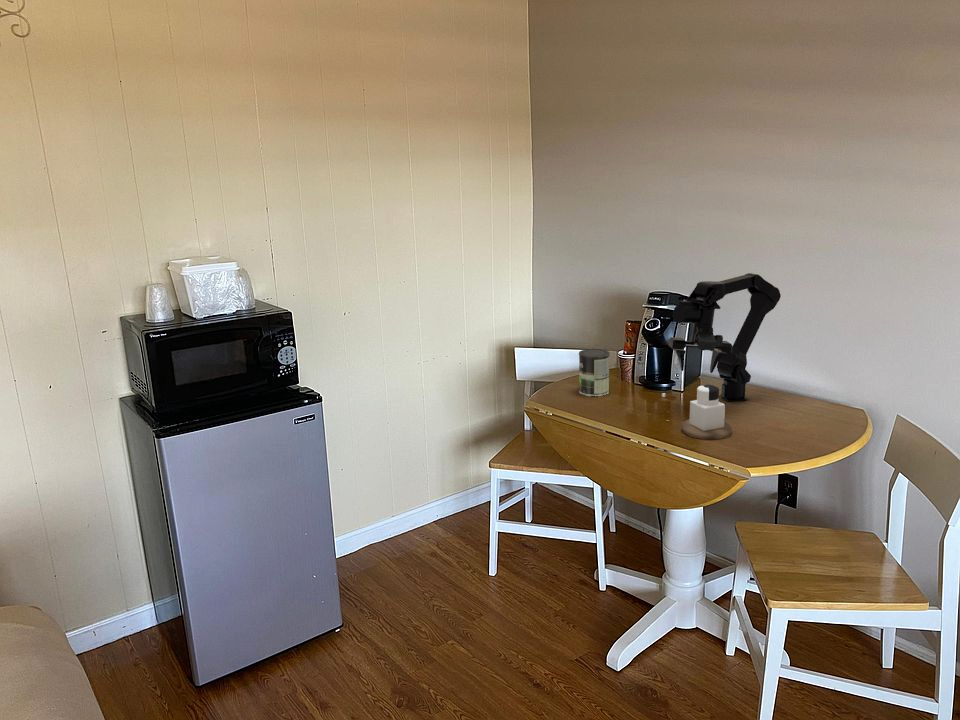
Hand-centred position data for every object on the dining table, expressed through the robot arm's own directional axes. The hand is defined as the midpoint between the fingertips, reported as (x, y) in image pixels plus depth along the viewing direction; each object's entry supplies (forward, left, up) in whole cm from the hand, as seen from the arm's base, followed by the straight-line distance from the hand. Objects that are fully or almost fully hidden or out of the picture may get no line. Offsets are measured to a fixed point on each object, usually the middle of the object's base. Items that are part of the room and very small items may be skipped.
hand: (696, 371), depth 239 cm
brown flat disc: (+4, +21, -12) cm, 24 cm away
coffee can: (+28, -21, -12) cm, 37 cm away
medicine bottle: (+4, +21, -10) cm, 23 cm away
